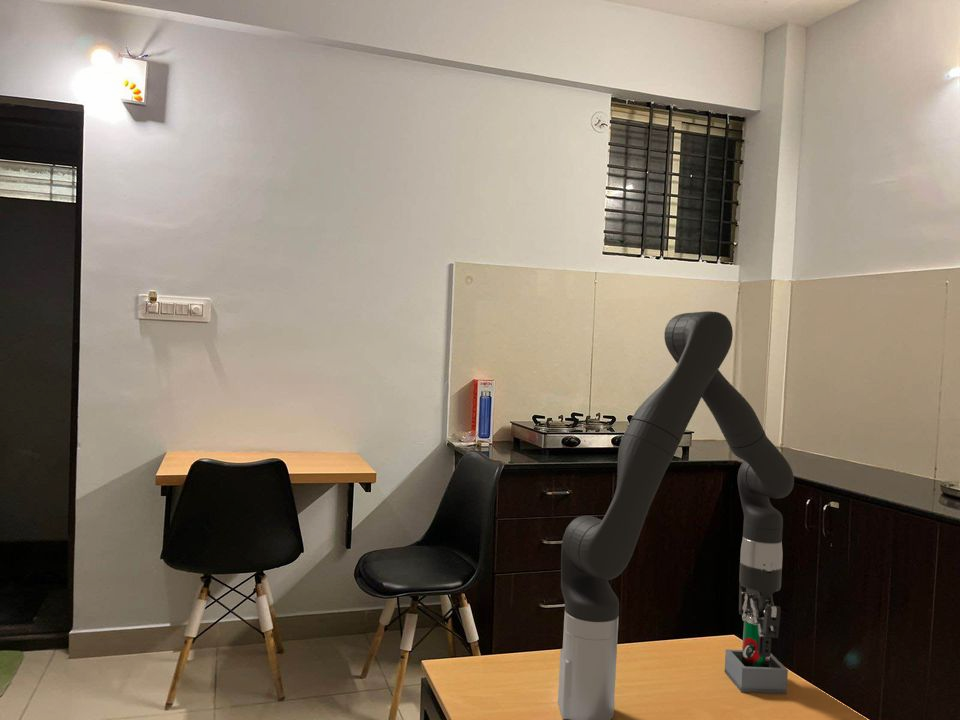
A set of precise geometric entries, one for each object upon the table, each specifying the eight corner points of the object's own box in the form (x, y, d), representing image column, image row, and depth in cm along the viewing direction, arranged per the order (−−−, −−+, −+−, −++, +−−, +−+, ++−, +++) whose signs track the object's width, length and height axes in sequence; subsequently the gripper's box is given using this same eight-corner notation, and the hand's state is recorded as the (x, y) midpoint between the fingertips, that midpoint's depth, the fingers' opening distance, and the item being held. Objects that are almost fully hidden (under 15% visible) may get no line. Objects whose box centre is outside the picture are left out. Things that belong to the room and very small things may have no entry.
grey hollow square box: (741, 692, 135) (742, 668, 135) (724, 671, 144) (725, 649, 144) (786, 693, 136) (787, 670, 136) (767, 673, 144) (768, 650, 144)
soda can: (770, 686, 137) (775, 623, 137) (742, 681, 138) (746, 619, 138) (765, 674, 142) (770, 613, 141) (738, 670, 143) (743, 610, 143)
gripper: (728, 551, 147) (723, 633, 147) (756, 572, 132) (751, 663, 132) (764, 552, 147) (760, 634, 147) (797, 574, 132) (792, 665, 133)
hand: (756, 648), depth 140 cm, fingers open, 6 cm apart
